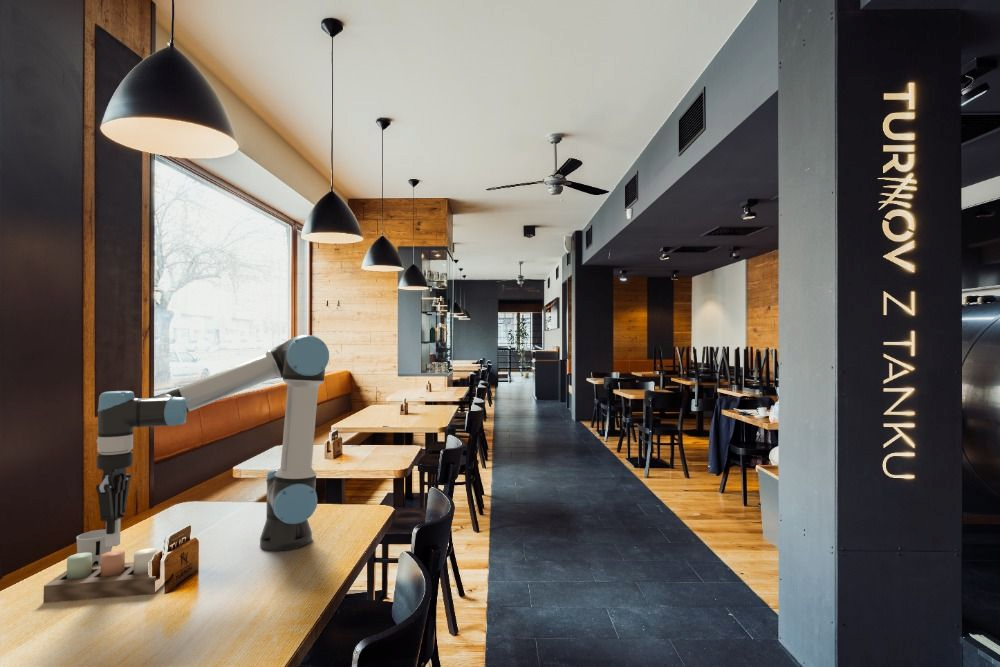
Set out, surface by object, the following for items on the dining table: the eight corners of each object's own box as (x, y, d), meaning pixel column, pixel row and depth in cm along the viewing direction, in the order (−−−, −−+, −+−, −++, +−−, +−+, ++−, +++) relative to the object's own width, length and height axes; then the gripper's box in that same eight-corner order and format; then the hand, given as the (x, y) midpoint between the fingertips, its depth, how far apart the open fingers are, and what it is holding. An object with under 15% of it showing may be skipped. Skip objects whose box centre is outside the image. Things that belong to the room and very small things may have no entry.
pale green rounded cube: (95, 571, 140) (96, 551, 140) (84, 579, 135) (85, 559, 135) (73, 573, 139) (74, 553, 139) (62, 581, 134) (62, 560, 134)
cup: (92, 578, 144) (93, 540, 144) (67, 576, 146) (68, 538, 146) (120, 566, 152) (120, 530, 152) (95, 564, 154) (96, 528, 154)
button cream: (160, 566, 143) (160, 547, 143) (151, 574, 138) (152, 554, 138) (138, 568, 142) (139, 549, 142) (129, 576, 137) (130, 556, 137)
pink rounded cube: (128, 569, 141) (128, 549, 142) (118, 577, 136) (119, 556, 137) (106, 570, 140) (107, 551, 141) (96, 578, 136) (96, 558, 136)
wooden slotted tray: (173, 574, 146) (173, 559, 147) (154, 594, 135) (154, 577, 135) (72, 582, 142) (72, 566, 142) (43, 602, 130) (43, 585, 130)
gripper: (111, 448, 145) (109, 537, 144) (84, 457, 132) (81, 555, 132) (142, 447, 147) (140, 536, 146) (118, 456, 134) (116, 553, 133)
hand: (112, 545), depth 139 cm, fingers closed
